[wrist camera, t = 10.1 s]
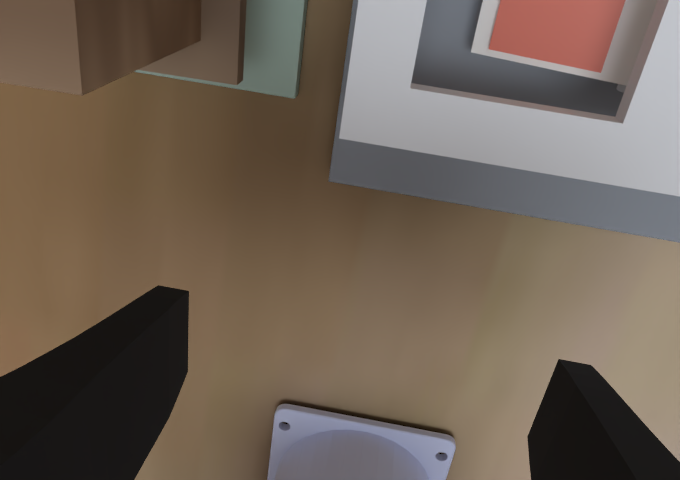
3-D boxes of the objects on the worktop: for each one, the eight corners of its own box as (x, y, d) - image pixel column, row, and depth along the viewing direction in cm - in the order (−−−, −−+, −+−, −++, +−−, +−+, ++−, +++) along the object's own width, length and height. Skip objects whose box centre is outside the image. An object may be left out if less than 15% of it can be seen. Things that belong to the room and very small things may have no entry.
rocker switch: (827, 131, 15) (839, 141, 14) (476, 55, 18) (467, 60, 17) (934, -67, 13) (957, -70, 12) (517, -115, 15) (509, -121, 15)
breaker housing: (791, 250, 20) (906, 347, 15) (332, 171, 21) (306, 240, 16) (1090, -274, 14) (1454, -389, 9) (406, -364, 14) (399, -515, 10)
